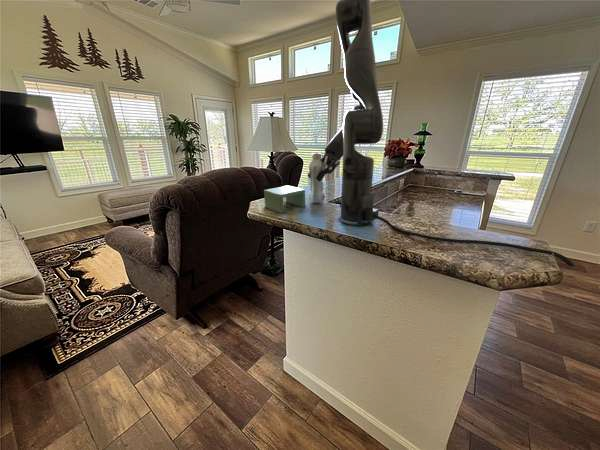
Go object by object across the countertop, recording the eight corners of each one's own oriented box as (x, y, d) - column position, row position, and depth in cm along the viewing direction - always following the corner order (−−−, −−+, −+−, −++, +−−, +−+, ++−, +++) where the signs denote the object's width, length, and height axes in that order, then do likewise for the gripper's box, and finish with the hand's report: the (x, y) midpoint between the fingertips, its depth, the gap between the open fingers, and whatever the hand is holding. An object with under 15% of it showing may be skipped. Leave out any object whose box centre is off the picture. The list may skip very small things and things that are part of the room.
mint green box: (305, 206, 94) (304, 189, 92) (281, 213, 87) (280, 194, 84) (288, 201, 102) (287, 185, 99) (265, 207, 95) (263, 190, 92)
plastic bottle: (326, 201, 100) (327, 152, 93) (321, 205, 95) (321, 154, 87) (312, 199, 103) (312, 152, 95) (306, 204, 97) (305, 154, 90)
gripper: (323, 139, 99) (299, 170, 98) (344, 139, 87) (316, 175, 86) (333, 151, 103) (310, 181, 102) (354, 153, 91) (328, 187, 90)
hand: (313, 178), depth 94 cm, fingers closed on plastic bottle, 6 cm apart
